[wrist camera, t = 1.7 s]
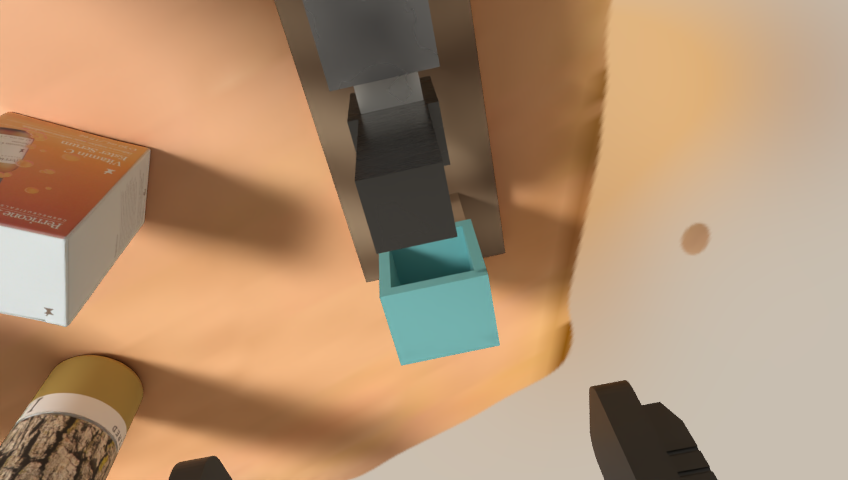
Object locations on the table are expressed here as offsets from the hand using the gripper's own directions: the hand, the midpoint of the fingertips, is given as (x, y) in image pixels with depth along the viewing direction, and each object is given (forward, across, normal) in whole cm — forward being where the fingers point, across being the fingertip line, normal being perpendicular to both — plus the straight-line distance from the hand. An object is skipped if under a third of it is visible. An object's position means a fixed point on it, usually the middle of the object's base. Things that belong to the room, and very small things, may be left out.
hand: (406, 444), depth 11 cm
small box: (+24, +19, +1) cm, 31 cm away
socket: (+20, -1, +9) cm, 22 cm away
